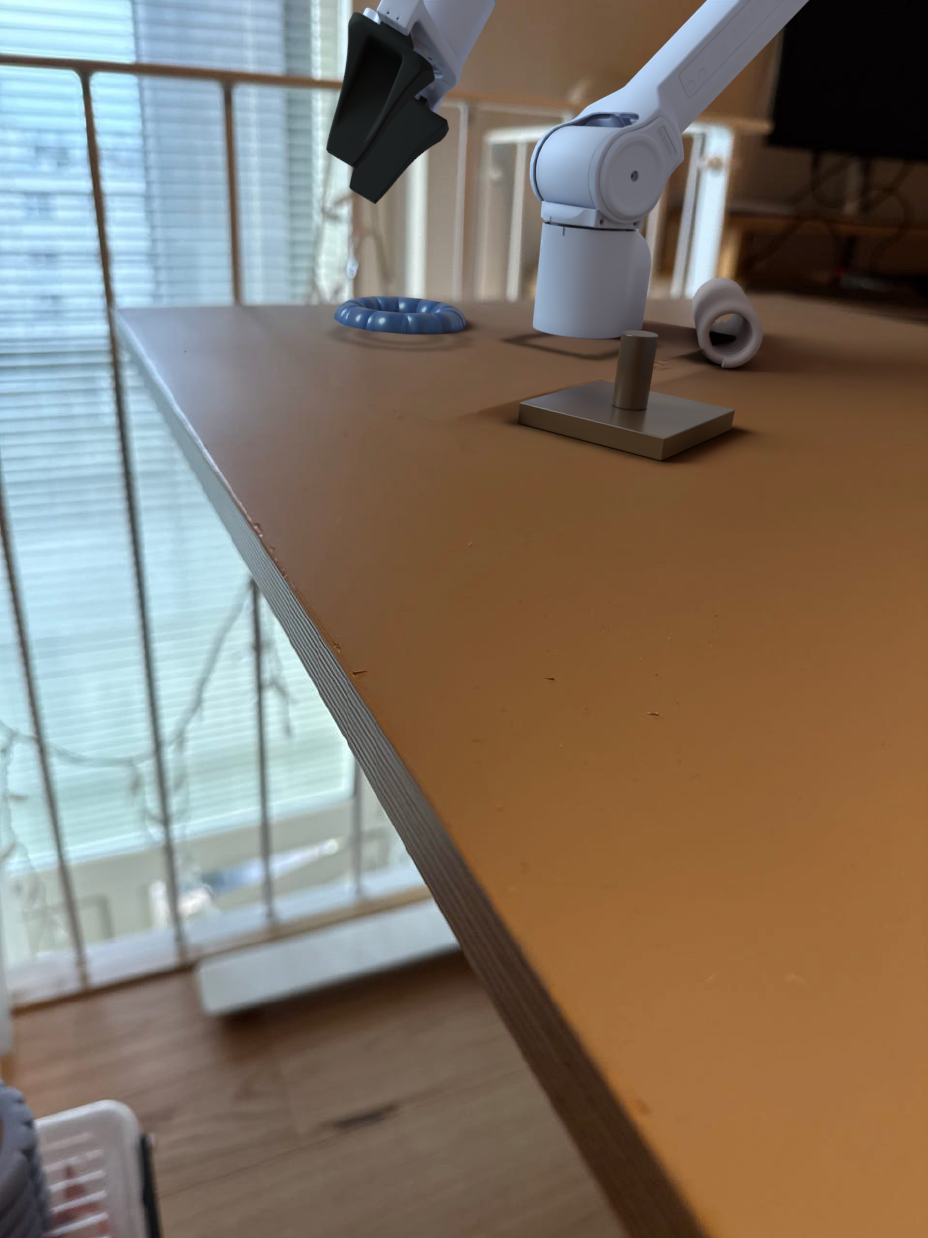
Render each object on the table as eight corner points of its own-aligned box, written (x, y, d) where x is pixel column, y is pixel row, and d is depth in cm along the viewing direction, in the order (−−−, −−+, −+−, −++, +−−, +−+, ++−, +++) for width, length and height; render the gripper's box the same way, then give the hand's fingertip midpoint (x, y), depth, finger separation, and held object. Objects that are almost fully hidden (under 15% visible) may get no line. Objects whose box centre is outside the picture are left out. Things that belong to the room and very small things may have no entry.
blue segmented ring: (394, 320, 79) (395, 290, 78) (489, 340, 74) (491, 308, 73) (308, 332, 72) (308, 299, 70) (407, 355, 66) (408, 320, 65)
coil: (772, 311, 67) (751, 282, 83) (709, 298, 68) (699, 271, 84) (752, 374, 70) (735, 334, 86) (691, 361, 70) (685, 324, 86)
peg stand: (597, 398, 59) (609, 313, 56) (731, 429, 54) (749, 338, 52) (517, 423, 52) (526, 327, 50) (661, 461, 48) (678, 358, 45)
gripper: (414, 2, 66) (323, 180, 68) (384, -128, 51) (269, 103, 54) (500, 54, 66) (406, 230, 68) (493, -61, 52) (375, 166, 54)
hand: (352, 178), depth 61 cm, fingers open, 7 cm apart
